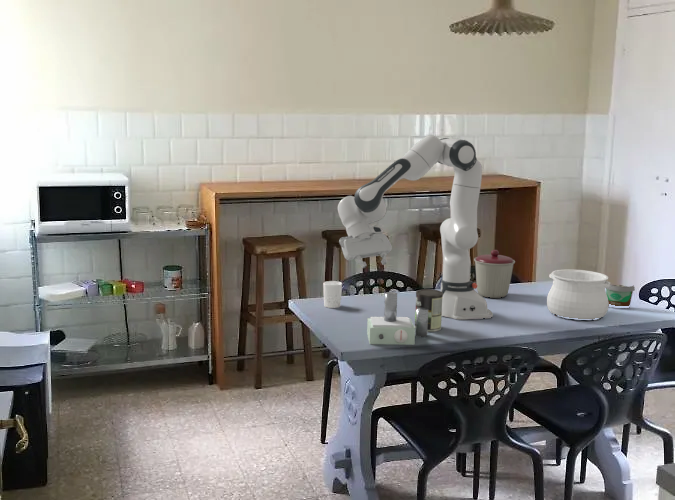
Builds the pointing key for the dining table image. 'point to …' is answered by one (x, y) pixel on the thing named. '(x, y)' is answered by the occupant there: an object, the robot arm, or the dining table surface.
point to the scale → (391, 331)
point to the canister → (493, 274)
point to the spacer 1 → (390, 307)
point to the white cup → (332, 294)
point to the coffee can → (430, 307)
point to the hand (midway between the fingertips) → (374, 265)
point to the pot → (578, 294)
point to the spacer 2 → (421, 322)
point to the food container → (619, 295)
